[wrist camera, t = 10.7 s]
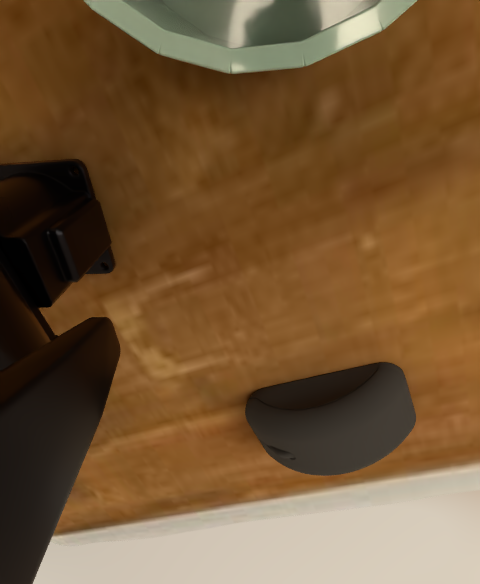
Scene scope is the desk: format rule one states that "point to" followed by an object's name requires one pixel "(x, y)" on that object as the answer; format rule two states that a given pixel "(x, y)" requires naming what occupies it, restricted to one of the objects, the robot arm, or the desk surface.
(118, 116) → the desk surface
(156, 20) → the pen pot
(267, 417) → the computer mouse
